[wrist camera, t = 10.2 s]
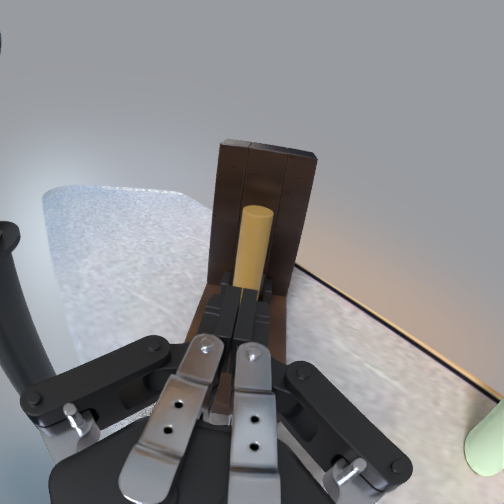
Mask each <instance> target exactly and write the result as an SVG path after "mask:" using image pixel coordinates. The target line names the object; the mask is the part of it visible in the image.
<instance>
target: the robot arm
mask: <svg viewBox="0 0 504 504" xmlns="http://www.w3.org/2000/svg"><path fill="white" fill-rule="evenodd" d="M0 52H1V33H0ZM1 238H2V230H1V228H0V239H1ZM241 293H242V297H241ZM257 294H258V290H254V289H248V288H243V292H242V287H237V286H231V285H227V289H226V292H225V295H223V294H218V293H215V294H214V295H212V296H211V297H210V298H209V300H208V302H207V305H206V308H205V311H204V314H203V316H202V319H201V322H200V325H199V328H198V331H197V334H196V336H195V337H194V338H193V339H192V340H190V341H188V342H186V343H182V344H169V342H168V341H167V340H166V339H165V338H163V337H161V336H157V335H150V336H146V337H144V338H141V339H139V340H137V341H135V342H133V343H130V344H128V345H126V346H124V347H121V348H119V349H117V350H115V351H112V352H110V353H108V354H106V355H103V356H101V357H99V358H97V359H94V360H92V361H90V362H87V363H85V364H83V365H80V366H78V367H76V368H73V369H71V370H69V371H66V372H64V373H62V374H59V375H57V376H54V377H52V378H50V379H47V380H45V381H42V382H40V383H38V384H35V385H33V386H30V387H28V388H27V389H25V390H24V391H23V393H22V395H21V397H20V405H21V407H22V409H23V411H24V412H25V413H26V415H27V416H28V417H29V418H30V420H31V421H32V422H33V423H34V424H35V426H36V427H37V428H38V429H39V431H40V433H41V436H42V438H43V440H44V442H45V444H46V447H47V449H48V451H49V453H50V455H51V457H52V459H53V460H54V462H55V467H54V468H53V469H52V471H51V474H50V477H49V485H48V486H49V493H50V500H51V504H375V503H376V502H377V501H378V500H379V499H380V498H381V497H383V496H385V495H386V494H388V493H390V492H391V491H393V490H395V489H396V488H397V487H398V486H400V485H401V484H403V483H404V482H406V481H407V480H408V479H409V478H410V477H411V475H412V471H413V466H412V462H411V460H410V459H409V458H408V457H407V456H406V455H405V454H404V453H403V452H402V451H401V450H400V449H399V448H398V447H397V446H396V445H394V444H393V443H392V442H391V441H390V440H389V439H388V438H387V437H386V436H385V435H384V434H383V433H382V432H381V431H380V430H379V429H378V428H377V427H376V426H375V425H374V424H372V423H371V422H370V421H369V420H368V419H367V418H366V417H365V416H364V415H363V414H362V413H361V412H360V411H359V410H358V409H357V408H356V407H355V406H354V405H353V404H352V403H351V402H350V401H349V400H348V399H347V398H346V397H345V396H344V395H343V394H342V393H341V392H340V391H339V390H338V389H337V388H336V387H335V386H334V385H333V384H332V383H331V382H330V381H329V380H328V379H327V378H326V377H325V376H324V375H323V374H322V373H321V372H320V371H319V370H318V369H317V368H316V367H315V366H314V365H312V364H311V363H308V362H305V361H296V362H293V363H291V364H290V365H286V364H284V363H281V362H279V361H277V360H276V359H274V358H273V357H272V356H271V354H270V351H269V350H268V341H269V328H270V314H271V309H270V307H269V305H268V303H267V302H263V301H257ZM240 300H241V302H240ZM230 353H231V355H230ZM229 358H230V362H229ZM228 363H229V369H228V374H232V375H231V382H230V384H231V393H230V405H229V417H228V425H212V424H210V423H208V420H209V417H210V414H211V411H212V408H213V404H214V401H215V398H216V395H217V392H218V389H219V385H220V377H221V373H227V368H228ZM155 402H157V403H156V405H155V407H154V409H153V411H152V413H151V416H147V417H143V418H141V419H138V420H136V421H134V422H132V423H131V424H129V425H127V426H125V427H124V428H122V429H120V430H118V431H117V432H115V433H113V434H111V435H109V436H108V437H106V438H104V439H102V440H100V441H98V440H99V438H100V431H101V430H103V429H105V428H107V427H109V426H111V425H113V424H115V423H117V422H119V421H121V420H123V419H125V418H127V417H129V416H131V415H133V414H135V413H136V412H138V411H140V410H142V409H144V408H146V407H148V406H150V405H151V404H153V403H155ZM276 416H277V417H278V419H279V420H280V421H281V422H282V423H283V425H284V426H285V427H286V428H287V429H288V431H289V432H290V433H291V434H292V435H293V437H294V438H295V439H296V440H297V441H298V442H299V444H300V445H301V446H302V447H303V448H304V449H305V450H306V452H307V453H308V454H309V455H310V456H311V457H312V458H313V459H314V461H315V462H316V463H317V464H318V465H319V466H320V467H321V468H322V469H323V470H324V472H325V474H324V476H323V485H324V488H325V489H326V491H327V492H328V494H327V492H326V491H325V490H324V489H323V488H322V487H321V485H320V484H319V483H318V482H317V481H316V479H315V478H314V477H313V476H312V475H311V473H310V472H309V471H308V470H307V469H306V467H305V466H304V465H303V464H302V462H301V461H300V460H299V459H298V457H297V456H296V455H295V454H294V452H293V451H292V450H291V449H290V448H289V447H288V446H287V445H286V444H285V443H283V442H282V441H280V440H279V439H277V426H276ZM97 441H98V442H97Z"/></svg>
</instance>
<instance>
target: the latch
mask: <svg viewBox="0 0 504 504" xmlns="http://www.w3.org/2000/svg"><path fill="white" fill-rule="evenodd" d="M317 160H318V159H317V157H316V156H315V155H314V153H312V152H307V151H302V150H297V149H292V148H288V149H287V148H285V147H279V146H274V145H268V144H261V143H255V142H254V143H252V142H248V141H241V140H233V139H227V140H225V141H224V142H222V143H220V148H219V156H218V166H217V174H216V184H215V194H214V204H213V214H212V225H211V236H210V248H209V261H208V274H207V284H206V287H205V290H204V292H203V295H202V297H201V300H200V302H199V305H198V308H197V310H196V313H195V316H194V318H193V321H192V323H191V326H190V329H189V331H188V334H187V337H186V339H185V342H184V343H186V342H188V341H190V340H192V339H193V338H194V337H195V336H196V334H197V331H198V328H199V325H200V322H201V319H202V316H203V314H204V311H205V308H206V305H207V302H208V300H209V298H210V297H211V296H212V295H214V294H215V293H218V294H223V295H225V292H226V289H227V285H231V286H233V280H234V272H235V264H236V257H237V249H238V242H239V234H240V227H241V219H242V212H243V208H244V207H246V206H251V205H256V206H262V207H266V208H268V209H270V210H272V211H273V213H274V215H273V221H272V226H271V232H270V237H269V242H268V248H267V253H266V259H265V264H264V269H263V275H262V280H261V285H260V290H259V296H258V301H263V302H267V303H268V305H269V307H270V309H271V314H270V328H269V341H268V350H269V351H270V354H271V356H272V357H273V358H274V359H276V360H277V361H279V362H281V363H284V364H286V296H287V292H288V288H289V284H290V280H291V276H292V272H293V268H294V264H295V260H296V256H297V251H298V247H299V243H300V239H301V234H302V230H303V226H304V221H305V217H306V212H307V208H308V203H309V198H310V193H311V189H312V185H313V180H314V175H315V170H316V165H317ZM230 355H231V353H230ZM229 362H230V358H229ZM228 369H229V363H228V368H227V373H221V377H220V385H219V389H218V392H217V395H216V398H215V401H214V404H213V408H212V411H211V412H215V413H220V414H225V415H229V405H230V393H231V384H230V382H231V375H232V374H228ZM279 421H280V420H279V419H278V417H277V416H276V422H279Z"/></svg>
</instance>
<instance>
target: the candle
mask: <svg viewBox="0 0 504 504" xmlns="http://www.w3.org/2000/svg"><path fill="white" fill-rule="evenodd" d="M465 455H466V459H467V461H468V464H469V465H470V467H471V468H472V469H473V470H474V471H475V472H476V473H478V474H479V475H482V476H487V477H490V476H493V475H495V474H497V473H498V472H500V471H501V470H502V469H504V398H503V399H502V400H501V401H500V402H499V403H498V404H497V405H496V406H495V408H494V409H493V410H492V411H491V412H490V413H489V414H488V415H487V416H486V417H485V418H484V419H483V420H482V421H481V422H480V423H478V424H477V425H476V426H475V427H474V428H473V429H472V430H471V431H470V432H469V433H468V435H467V437H466V441H465Z"/></svg>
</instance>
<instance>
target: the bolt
mask: <svg viewBox="0 0 504 504" xmlns="http://www.w3.org/2000/svg"><path fill="white" fill-rule="evenodd" d="M273 215H274V213H273V211H272V210H270V209H268V208H266V207H262V206H256V205H251V206H246V207H244V208H243V212H242V219H241V227H240V234H239V242H238V249H237V257H236V264H235V272H234V280H233V286H237V287H242V292H243V288H248V289H254V290H258V294H257V301H258V296H259V290H260V285H261V280H262V275H263V269H264V264H265V259H266V253H267V248H268V242H269V237H270V232H271V226H272V221H273ZM241 297H242V293H241ZM240 302H241V300H240Z"/></svg>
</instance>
